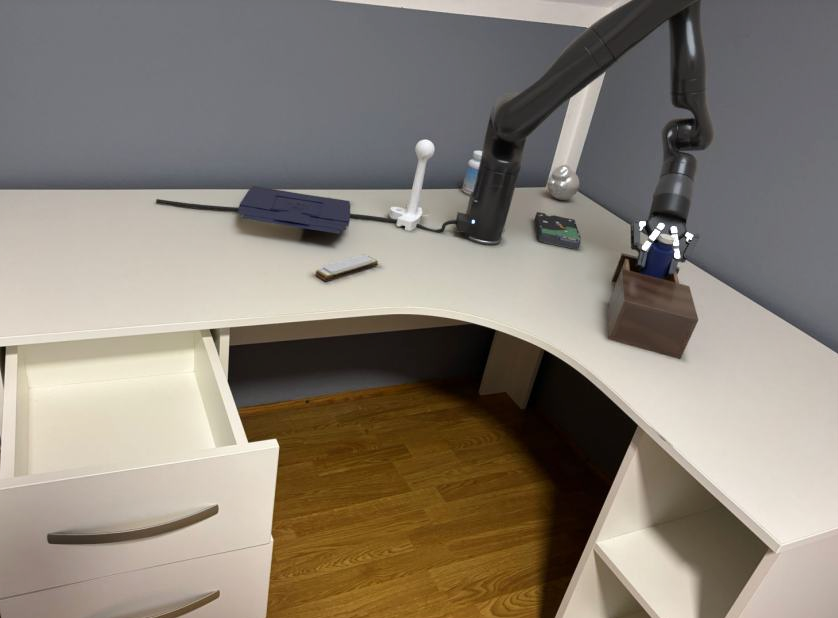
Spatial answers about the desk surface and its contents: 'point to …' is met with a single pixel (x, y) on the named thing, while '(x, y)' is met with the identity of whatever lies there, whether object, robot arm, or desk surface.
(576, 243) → the disk drive
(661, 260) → the bottle
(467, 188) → the pill bottle
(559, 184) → the silver rounded lump
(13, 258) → the desk surface
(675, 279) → the drawer
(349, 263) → the harmonica
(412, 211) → the joystick
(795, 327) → the desk surface
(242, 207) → the laptop stand
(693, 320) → the cabinet
